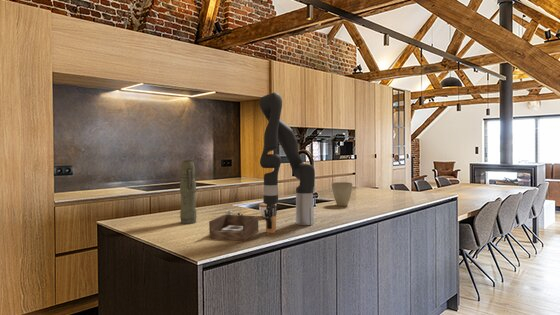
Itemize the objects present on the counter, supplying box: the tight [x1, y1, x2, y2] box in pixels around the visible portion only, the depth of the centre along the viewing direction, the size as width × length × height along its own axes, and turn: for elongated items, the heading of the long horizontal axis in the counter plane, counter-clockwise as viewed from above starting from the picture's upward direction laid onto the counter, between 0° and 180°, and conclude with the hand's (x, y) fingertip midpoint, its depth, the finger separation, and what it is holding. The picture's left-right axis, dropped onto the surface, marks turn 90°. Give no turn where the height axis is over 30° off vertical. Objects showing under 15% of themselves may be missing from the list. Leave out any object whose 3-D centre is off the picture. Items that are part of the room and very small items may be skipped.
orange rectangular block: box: [265, 214, 277, 234], centre depth 190 cm, size 4×4×8 cm
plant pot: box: [331, 181, 354, 207], centre depth 270 cm, size 15×15×16 cm
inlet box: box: [208, 213, 259, 242], centre depth 184 cm, size 18×18×8 cm
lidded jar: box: [258, 202, 278, 218], centre depth 229 cm, size 11×11×9 cm
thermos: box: [179, 160, 198, 225], centre depth 213 cm, size 9×12×35 cm
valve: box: [225, 209, 244, 215], centre depth 210 cm, size 7×7×12 cm
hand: (270, 227), depth 190 cm, fingers closed on orange rectangular block, 4 cm apart
